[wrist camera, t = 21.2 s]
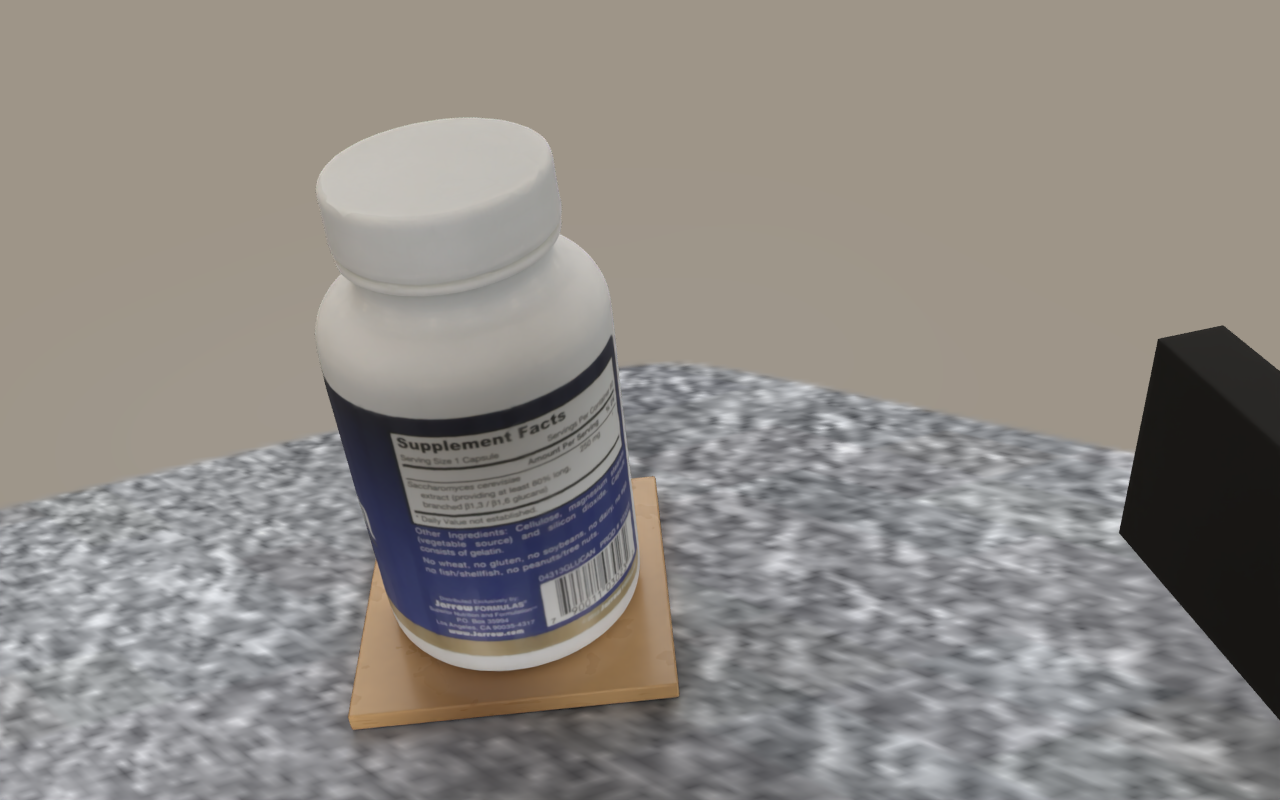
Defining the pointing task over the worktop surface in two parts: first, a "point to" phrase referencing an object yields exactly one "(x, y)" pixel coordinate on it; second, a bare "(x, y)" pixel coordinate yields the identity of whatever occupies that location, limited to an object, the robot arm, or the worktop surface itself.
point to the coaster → (595, 675)
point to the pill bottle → (477, 393)
